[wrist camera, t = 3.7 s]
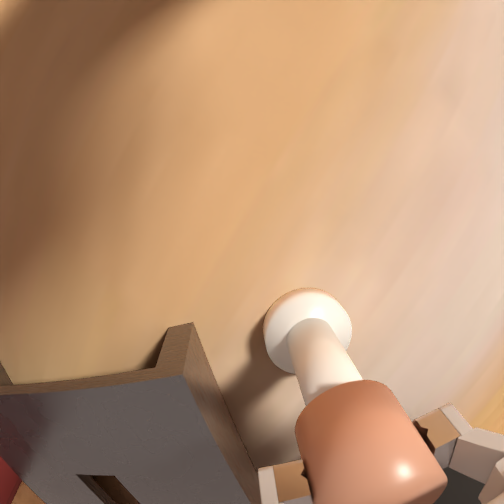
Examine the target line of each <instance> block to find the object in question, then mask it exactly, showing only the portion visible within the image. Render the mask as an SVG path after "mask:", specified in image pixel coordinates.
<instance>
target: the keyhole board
mask: <svg viewBox="0 0 504 504" xmlns="http://www.w3.org/2000/svg"><path fill="white" fill-rule="evenodd" d="M0 456H1V457H2V459H3V460H4V461H5V462H6V463H7V464H8V465H9V467H10V468H11V469H12V470H13V471H14V472H15V473H16V474H17V475H18V476H19V477H20V479H21V480H22V481H23V482H24V483H25V484H26V485H27V486H28V487H29V488H30V489H31V490H32V491H33V492H34V493H35V494H36V495H37V496H38V497H39V498H41V499H42V500H43V501H44V502H45V503H46V504H117V503H116V502H115V501H114V500H113V499H112V498H111V497H110V496H109V495H108V494H107V493H106V492H105V491H104V490H103V489H102V488H101V487H100V486H99V485H98V484H97V483H96V482H95V481H94V480H93V478H92V477H91V476H90V475H107V476H115V477H116V478H117V479H118V480H119V481H120V483H121V484H122V485H123V486H124V487H125V488H126V489H127V490H128V491H129V492H130V493H131V494H132V495H133V496H134V498H135V499H136V500H137V501H138V502H139V503H140V504H261V497H260V488H259V479H258V475H257V472H256V470H255V468H254V466H253V464H252V462H251V460H250V458H249V456H248V453H247V451H246V449H245V447H244V445H243V443H242V440H241V438H240V436H239V434H238V432H237V429H236V427H235V425H234V423H233V420H232V418H231V416H230V413H229V411H228V409H227V406H226V404H225V402H224V399H223V397H222V395H221V392H220V390H219V387H218V385H217V382H216V380H215V378H214V375H213V373H212V370H211V368H210V365H209V362H208V360H207V357H206V355H205V352H204V350H203V347H202V344H201V342H200V339H199V337H198V334H197V331H196V329H195V326H194V323H193V322H192V323H187V324H183V325H179V326H174V327H170V328H168V331H167V334H166V337H165V340H164V343H163V346H162V349H161V352H160V355H159V358H158V361H157V364H156V367H155V368H149V369H143V370H137V371H131V372H125V373H119V374H112V375H105V376H98V377H91V378H83V379H75V380H66V381H57V382H47V383H36V384H24V385H13V384H12V382H11V380H10V379H9V377H8V375H7V374H6V372H5V370H4V368H3V367H2V365H1V363H0Z"/></svg>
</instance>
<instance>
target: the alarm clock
mask: <svg viewBox="0 0 504 504" xmlns="http://www.w3.org/2000/svg"><path fill="white" fill-rule="evenodd" d="M442 470H443V471H444V473H445V475H446V476H447V479H448V480H447V485H446V488H445V490H444V491H443V493H442V494H441V495H440V497H439V498H438V499H437V500H436V501H435V502H434V503H433V504H482V503H481V502H480V500H479V499H478V497H479V494H480V492H481V491H482V489H483V487H484V485H485V484H484V483H482V482H479V481H477V480H475V479H473V478H470V477H468V476H466V475H464V474H462V473H460V472H458V471H456V470H453V469H451V468H449V466H448V467H446V468H444V469H442Z"/></svg>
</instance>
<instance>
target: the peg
mask: <svg viewBox="0 0 504 504" xmlns="http://www.w3.org/2000/svg"><path fill="white" fill-rule="evenodd" d="M263 335H264V340H265V344H266V349H267V353H268V355H269V357H270V359H271V360H272V362H273V363H274V364H275V365H276V366H277V367H279V368H280V369H282V370H284V371H286V372H289V373H292V374H296V376H297V379H298V383H299V386H300V389H301V392H302V395H303V398H304V401H305V405H306V407H305V408H304V409H303V411H302V412H301V414H300V415H299V417H298V419H297V422H296V425H295V435H296V439H297V443H298V447H299V451H300V455H301V459H302V461H303V464H304V468H305V472H306V476H307V481H308V484H309V488H310V492H311V496H312V500H313V504H433V503H434V502H435V501H436V500H437V499H438V498H439V497H440V495H441V494H442V493H443V491H444V490H445V488H446V485H447V480H448V479H447V476H446V475H445V473H444V471H443V470H442V468H441V467H440V465H439V463H438V462H437V460H436V459H435V457H434V456H433V454H432V452H431V451H430V449H429V448H428V446H427V445H426V443H425V442H424V440H423V438H422V437H421V435H420V434H419V432H418V431H417V429H416V428H415V426H414V425H413V423H412V422H411V420H410V418H409V417H408V415H407V414H406V412H405V411H404V409H403V408H402V406H401V405H400V403H399V402H398V400H397V399H396V397H395V396H394V394H393V393H392V391H391V390H390V389H389V388H388V387H387V386H386V385H384V384H382V383H380V382H377V381H372V380H363V379H362V377H361V376H360V374H359V372H358V371H357V369H356V367H355V366H354V364H353V362H352V361H351V359H350V357H349V356H348V354H347V352H346V350H347V348H348V346H349V343H350V341H351V336H352V325H351V321H350V318H349V316H348V315H347V313H346V312H345V310H344V309H343V308H342V306H341V305H340V304H339V303H338V301H337V300H336V299H335V298H334V297H333V296H332V295H331V294H329V293H327V292H325V291H323V290H320V289H316V288H301V289H296V290H294V291H291V292H289V293H286V294H285V295H283V296H282V297H280V298H279V299H278V300H276V301H275V302H274V304H273V305H272V306H271V307H270V309H269V310H268V312H267V314H266V316H265V319H264V323H263Z"/></svg>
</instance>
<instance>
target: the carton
mask: <svg viewBox="0 0 504 504" xmlns="http://www.w3.org/2000/svg"><path fill="white" fill-rule="evenodd" d="M21 482H22V480H21V479H20V477H19V476H18V475H17V474H16V473H15V472H14V471H13V470H12V469H11V468H10V467H9V465H8V464H7V463H6V462H5V461H4V460H3V459H2V457H1V456H0V504H11V503H12V501H13V498H14V496H15V494H16V492H17V490H18V488H19V486H20V484H21Z"/></svg>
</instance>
